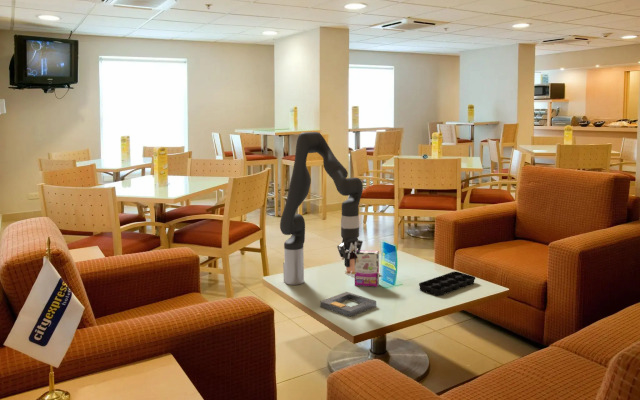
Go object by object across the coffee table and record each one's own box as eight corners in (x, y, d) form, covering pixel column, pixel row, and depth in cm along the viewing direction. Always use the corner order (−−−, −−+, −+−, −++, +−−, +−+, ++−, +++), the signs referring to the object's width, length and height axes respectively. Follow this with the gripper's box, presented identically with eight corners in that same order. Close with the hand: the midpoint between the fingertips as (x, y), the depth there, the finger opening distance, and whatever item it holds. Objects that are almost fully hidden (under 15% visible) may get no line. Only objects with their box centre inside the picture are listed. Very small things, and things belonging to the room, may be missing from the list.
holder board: (320, 306, 232) (320, 300, 231) (346, 297, 243) (346, 291, 243) (350, 317, 220) (350, 310, 219) (376, 306, 231) (376, 300, 231)
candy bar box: (379, 284, 260) (379, 250, 258) (377, 287, 256) (378, 253, 253) (356, 282, 263) (356, 249, 260) (354, 285, 258) (354, 252, 256)
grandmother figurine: (359, 272, 230) (360, 243, 229) (357, 275, 227) (359, 245, 225) (342, 271, 233) (343, 241, 231) (339, 273, 229) (340, 243, 227)
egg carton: (477, 282, 262) (478, 275, 261) (451, 300, 239) (451, 292, 238) (443, 276, 273) (444, 269, 272) (415, 292, 249) (415, 284, 249)
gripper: (354, 221, 234) (354, 260, 237) (331, 227, 224) (332, 267, 227) (368, 224, 229) (367, 264, 232) (345, 230, 219) (345, 271, 222)
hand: (350, 265), depth 229 cm, fingers closed on grandmother figurine, 3 cm apart
